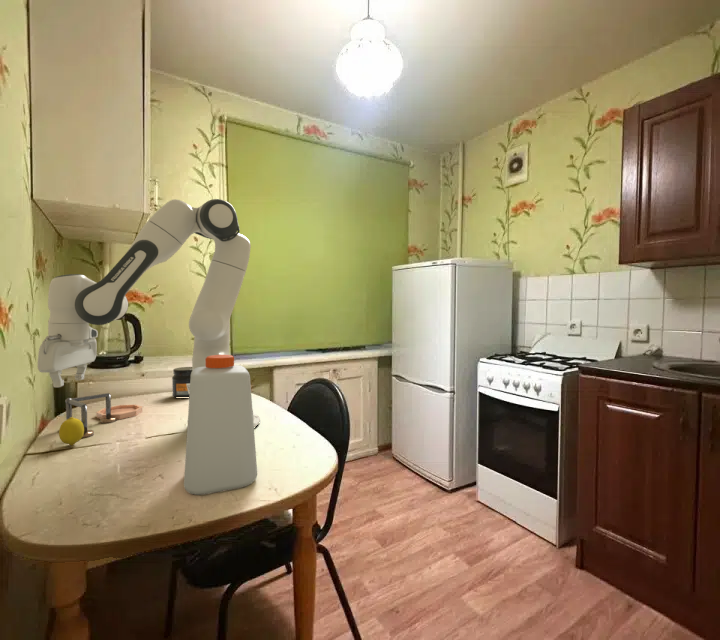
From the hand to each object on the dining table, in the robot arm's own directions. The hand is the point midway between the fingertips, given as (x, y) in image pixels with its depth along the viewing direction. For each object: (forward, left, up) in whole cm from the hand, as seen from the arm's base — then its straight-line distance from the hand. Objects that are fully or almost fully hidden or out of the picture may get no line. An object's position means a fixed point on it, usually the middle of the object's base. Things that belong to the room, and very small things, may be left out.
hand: (69, 383), depth 103 cm
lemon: (0, 0, -18) cm, 18 cm away
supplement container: (-14, -55, -18) cm, 60 cm away
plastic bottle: (-45, +26, -18) cm, 55 cm away
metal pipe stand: (+4, -15, -18) cm, 23 cm away
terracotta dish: (+1, -30, -18) cm, 35 cm away
